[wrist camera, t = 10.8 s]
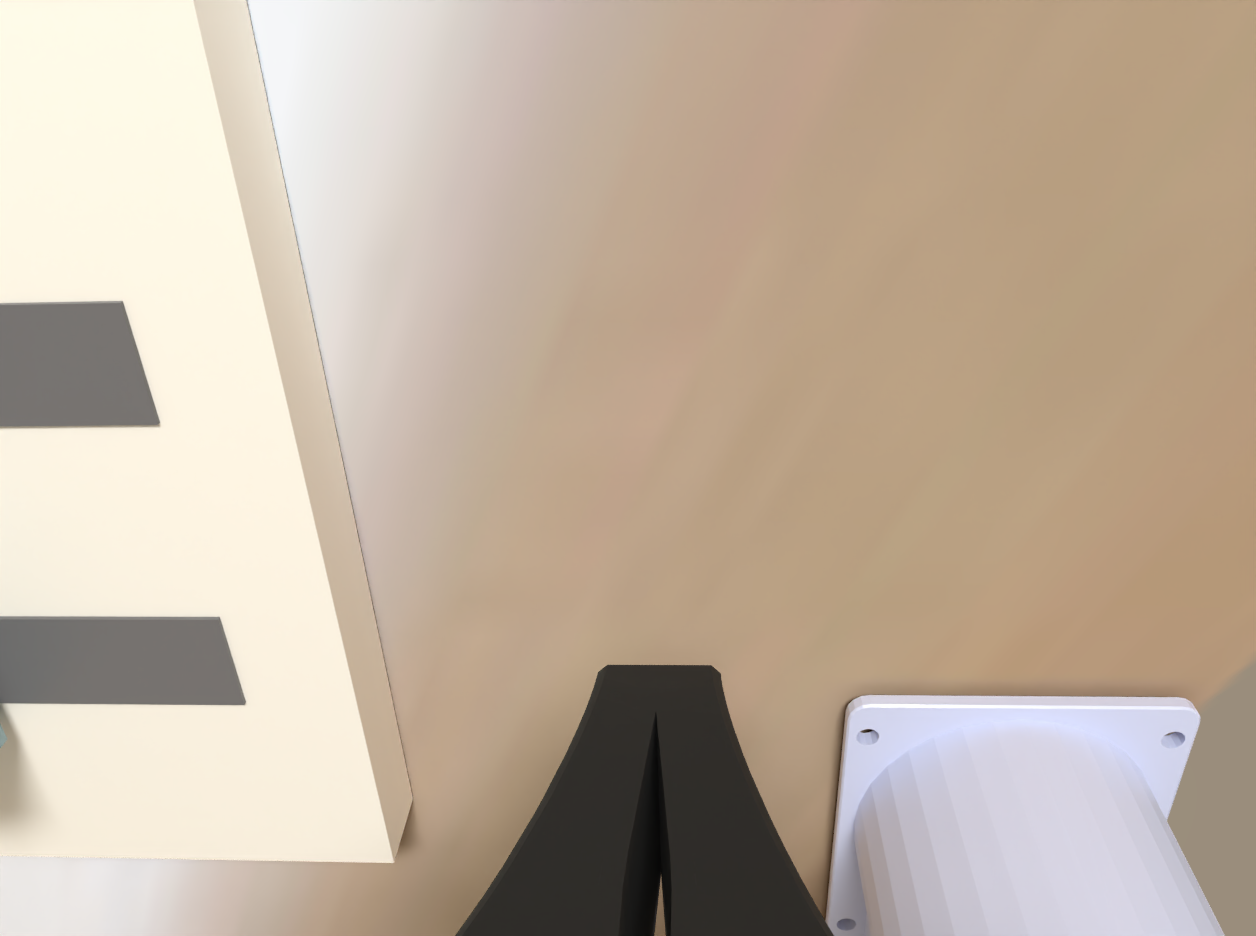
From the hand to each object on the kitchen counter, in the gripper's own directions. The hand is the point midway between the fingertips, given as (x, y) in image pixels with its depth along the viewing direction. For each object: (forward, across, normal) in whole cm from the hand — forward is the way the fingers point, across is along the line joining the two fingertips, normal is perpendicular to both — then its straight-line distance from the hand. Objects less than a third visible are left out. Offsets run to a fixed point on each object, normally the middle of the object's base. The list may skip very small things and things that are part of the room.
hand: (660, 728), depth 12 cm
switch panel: (+9, +14, +2) cm, 17 cm away
